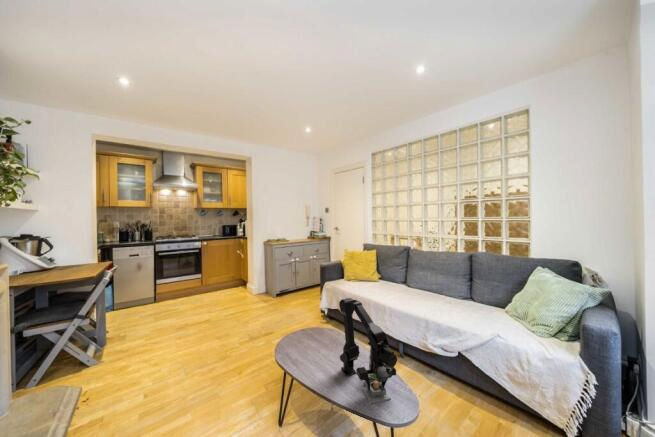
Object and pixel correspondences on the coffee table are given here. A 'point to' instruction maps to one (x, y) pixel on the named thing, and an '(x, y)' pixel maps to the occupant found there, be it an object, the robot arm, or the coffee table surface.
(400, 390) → the coffee table surface
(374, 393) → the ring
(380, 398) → the piston base
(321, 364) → the coffee table surface
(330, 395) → the coffee table surface
